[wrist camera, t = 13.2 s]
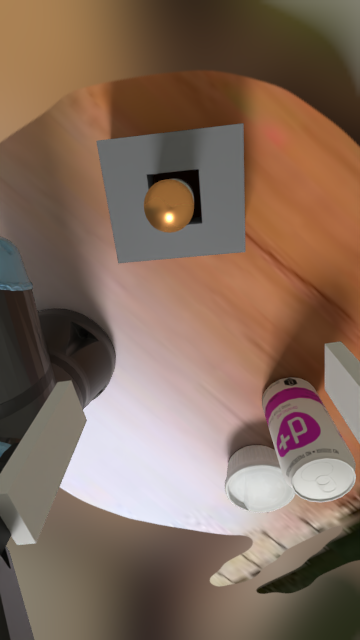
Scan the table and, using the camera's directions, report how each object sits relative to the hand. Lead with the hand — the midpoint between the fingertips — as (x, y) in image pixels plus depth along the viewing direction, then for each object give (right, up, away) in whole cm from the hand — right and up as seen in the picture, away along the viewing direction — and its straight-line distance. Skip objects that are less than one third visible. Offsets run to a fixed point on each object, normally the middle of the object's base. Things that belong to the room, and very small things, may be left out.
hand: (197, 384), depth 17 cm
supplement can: (+16, -8, +33) cm, 38 cm away
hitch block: (-1, +18, +21) cm, 28 cm away
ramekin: (+12, -21, +39) cm, 46 cm away
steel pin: (-1, +18, +22) cm, 28 cm away
